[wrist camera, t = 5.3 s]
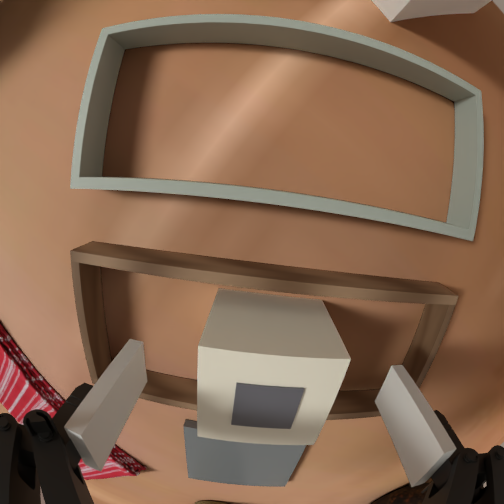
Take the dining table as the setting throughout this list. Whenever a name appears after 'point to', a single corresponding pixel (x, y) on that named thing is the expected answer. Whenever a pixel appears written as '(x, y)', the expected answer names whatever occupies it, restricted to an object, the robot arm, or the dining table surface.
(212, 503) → the squeeze bottle
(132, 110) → the dining table surface
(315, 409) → the cream cube
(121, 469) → the dish towel
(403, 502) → the glass bottle
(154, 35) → the grey frame
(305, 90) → the dining table surface
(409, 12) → the milk
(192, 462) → the slate tile
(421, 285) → the walnut frame
